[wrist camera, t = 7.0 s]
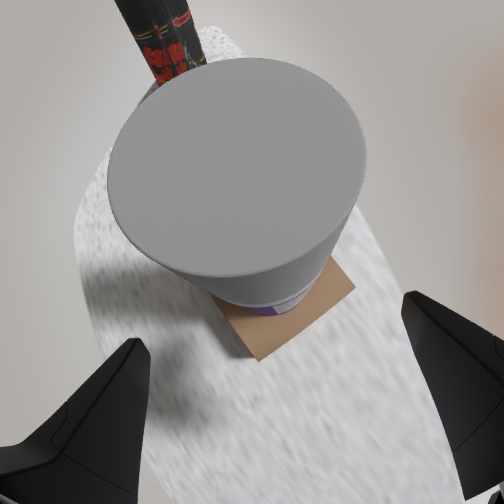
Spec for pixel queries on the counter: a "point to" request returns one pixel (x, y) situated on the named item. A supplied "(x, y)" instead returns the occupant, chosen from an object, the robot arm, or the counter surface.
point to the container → (240, 179)
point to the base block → (291, 323)
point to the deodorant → (164, 36)
